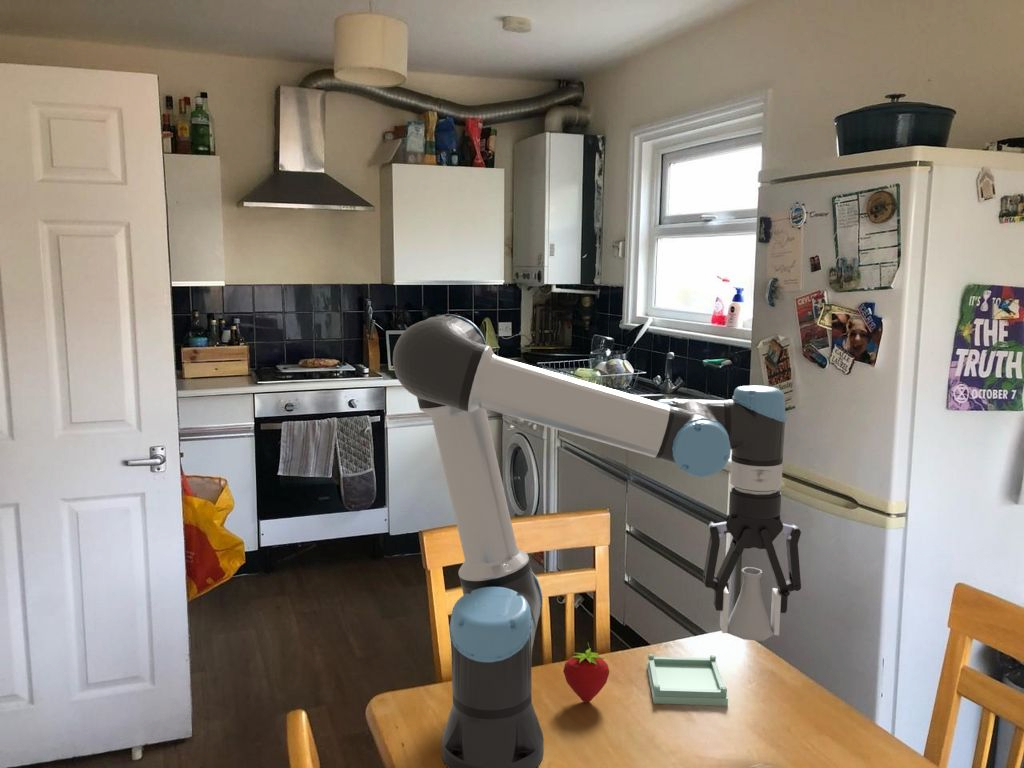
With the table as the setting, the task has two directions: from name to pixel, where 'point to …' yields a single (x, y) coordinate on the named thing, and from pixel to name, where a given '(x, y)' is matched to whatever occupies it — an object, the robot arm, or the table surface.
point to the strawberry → (586, 674)
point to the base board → (686, 681)
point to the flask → (750, 609)
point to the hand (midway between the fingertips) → (748, 630)
